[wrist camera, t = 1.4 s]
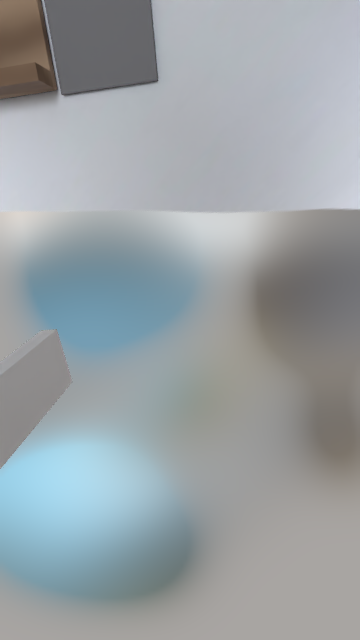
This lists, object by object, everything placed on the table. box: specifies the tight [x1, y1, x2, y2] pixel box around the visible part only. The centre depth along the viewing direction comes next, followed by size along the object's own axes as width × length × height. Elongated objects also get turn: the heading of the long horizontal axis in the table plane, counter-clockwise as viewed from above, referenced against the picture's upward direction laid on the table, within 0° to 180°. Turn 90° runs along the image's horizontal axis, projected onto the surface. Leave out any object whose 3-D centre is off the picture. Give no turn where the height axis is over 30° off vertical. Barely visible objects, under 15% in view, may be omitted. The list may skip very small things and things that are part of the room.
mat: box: [44, 0, 158, 95], centre depth 31 cm, size 11×10×1 cm
